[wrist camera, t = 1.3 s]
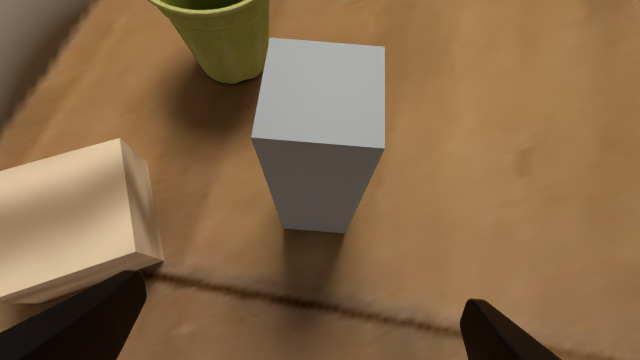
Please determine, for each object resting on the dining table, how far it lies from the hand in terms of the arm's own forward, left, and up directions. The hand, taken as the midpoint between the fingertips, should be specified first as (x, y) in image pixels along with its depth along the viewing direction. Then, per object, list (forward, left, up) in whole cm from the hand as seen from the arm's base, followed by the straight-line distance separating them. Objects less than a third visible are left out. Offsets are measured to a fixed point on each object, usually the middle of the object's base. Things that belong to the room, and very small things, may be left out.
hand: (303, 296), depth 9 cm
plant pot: (+19, +11, -13) cm, 26 cm away
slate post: (+7, +1, -13) cm, 15 cm away
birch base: (+2, +16, -13) cm, 21 cm away
